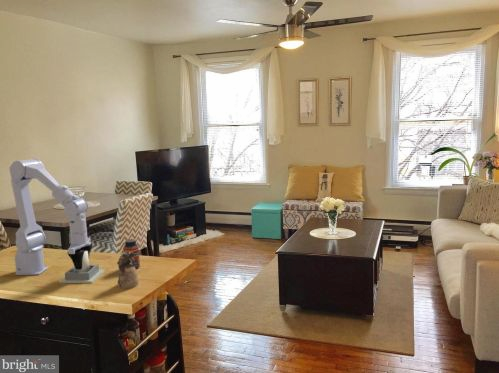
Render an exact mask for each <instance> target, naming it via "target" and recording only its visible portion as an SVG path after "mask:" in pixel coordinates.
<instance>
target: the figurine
mask: <svg viewBox="0 0 499 373" xmlns="http://www.w3.org/2000/svg"><path fill="white" fill-rule="evenodd" d="M133 254H134V253H133V252H131V253H130V254H129V255H128V253H127V252H124V253H121V254H120V256H119V258H118V261H117V262H116V264H117V266H118V270H119V271H118V278H117V288H119V289H121V290H125V289H132V288H135V287H137V286H138V284H139V276H138V272H137V269H135V267H134V266H135V259H134V258H133V257H132V256H133ZM130 261H133V264H132V263H130Z"/></svg>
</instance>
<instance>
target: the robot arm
mask: <svg viewBox="0 0 499 373" xmlns="http://www.w3.org/2000/svg"><path fill="white" fill-rule="evenodd" d="M45 167H46V166H45V164H44V163H43V162H42V161H41V160H40V159H38V158H35V157H34V158H30V159H23V160H15V161H13V162H12V163H11V164H10V166H9V167H8V169H9V173H10V178H11V179H10V183H11V187H12V193H13V196H14V202H15V205H16V206H15V207H16V211H17V216H18V221H19V228H18V230H17V231H16V232H15V243H14V244H15V247H16V248H17V251H16V252H15V255H14V264H15V273H14V275H16V276H20V275H21V276H22V275H23V276H26V275H27V276H30V275H31V276H32V275H33V276H35V275H41V274H42V273H44V272H45V271H46V270H47V269H49V268H50V266H45V262H44V252H43V248H44V247H45V246H44V245H45V243H46V242H47V237H46V234H45V232H44V230H43V227H42V226H41V225H39V224H37V221H36V216H35V211H34V207H33V206H34V205H33V202H32V197H31V192H30V187H29V184H30V183H31V181H32V180H33V179H35V180H38V181H39V182H40V183H41V184H43V186H45V187H46V188H47V189H48V190H50V191H51V194H52V195H51V196H52V197H53V198H54V199H55V200H56V201H57V202H58V203H60V205H62V206H63V211H64V212H65V213H64V214H65V215H66V216H67V220H68V223H69V232H70V246H69V248H67V255H68V257H69V258H70V259H71V261H72V264H73V267H74V266H75V269H82V259H83V254H84V252H85V251H80V250H87V251H88V259H89V258H90V253H91V250H92V248H93V244H92V242H91V241H92V240H91V237H88V228H87V218H86V212H87V211H88V209H89V204H88V202H87V200H86V199H85V198H83V197H79V196H77V195H76V194H74V192H72V191H71V190H70V188H69V187H68V186H67V185H65V184H59V183H58V181H57V180H56V179H55V178H54V177H53V176H52V175H51V174H50V173H49V172H48V171H47V169H46V168H45ZM89 260H90V259H89Z"/></svg>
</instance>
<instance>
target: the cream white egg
mask: <svg viewBox="0 0 499 373" xmlns="http://www.w3.org/2000/svg"><path fill="white" fill-rule="evenodd" d="M80 251H85V252H84V254H83V259H82V269H75V272H88V271H89V265H90V259H88V251H87V250H80Z"/></svg>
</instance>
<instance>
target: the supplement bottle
mask: <svg viewBox="0 0 499 373" xmlns="http://www.w3.org/2000/svg"><path fill="white" fill-rule="evenodd" d="M124 242H125V243H124V244H125V245H124V246H123V248H122V249H123V251H122V252H123V253H124V252H127V253H128V255H129V254H130V253H131V252H133V253H134V254H133V256H132V257H133V258H134V259H135V266H134V267H135V269H136V270H138V269H140V266H141V264H140V263H141V262H140V247H139V245H138V244H137V240H136V239H135V238H133V239H126V240H125V241H124ZM123 253H122V254H123ZM130 263H132V264H133V261H130Z"/></svg>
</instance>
